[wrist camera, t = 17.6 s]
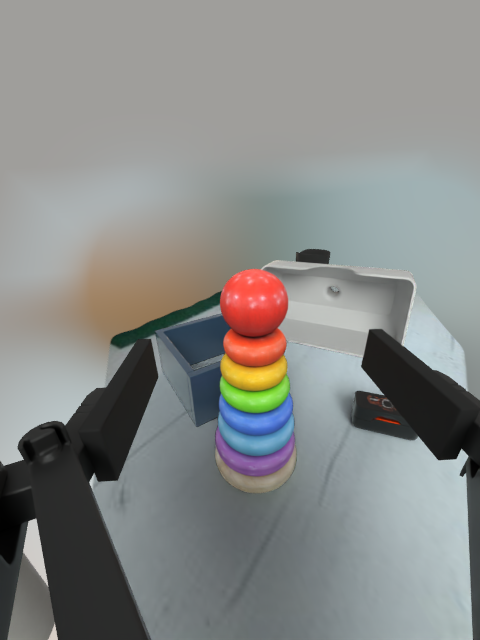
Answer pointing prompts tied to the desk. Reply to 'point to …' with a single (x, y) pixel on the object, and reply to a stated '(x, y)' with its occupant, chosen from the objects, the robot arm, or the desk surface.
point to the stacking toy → (255, 386)
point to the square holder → (189, 348)
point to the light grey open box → (343, 304)
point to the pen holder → (313, 256)
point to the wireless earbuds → (379, 416)
